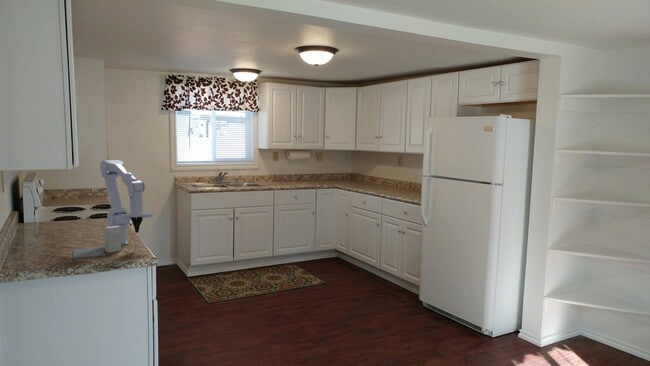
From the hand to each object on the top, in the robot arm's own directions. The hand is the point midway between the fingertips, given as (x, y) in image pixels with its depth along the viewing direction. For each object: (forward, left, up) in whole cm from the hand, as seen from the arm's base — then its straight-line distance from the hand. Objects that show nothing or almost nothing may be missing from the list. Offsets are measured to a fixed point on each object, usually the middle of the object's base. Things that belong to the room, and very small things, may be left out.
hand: (136, 232), depth 230 cm
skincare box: (0, -11, -9) cm, 14 cm away
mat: (0, -21, -8) cm, 23 cm away
